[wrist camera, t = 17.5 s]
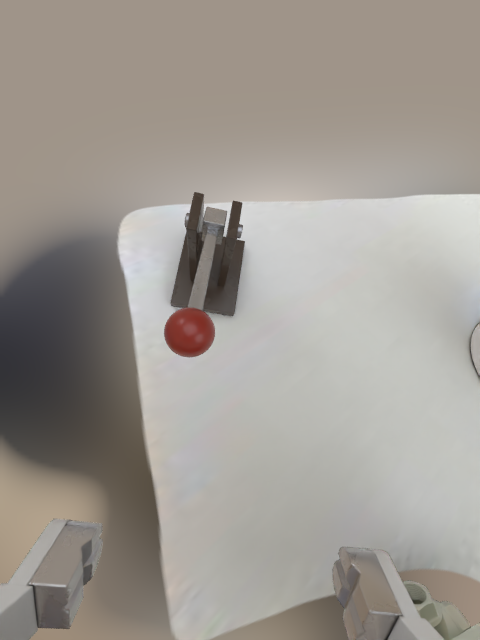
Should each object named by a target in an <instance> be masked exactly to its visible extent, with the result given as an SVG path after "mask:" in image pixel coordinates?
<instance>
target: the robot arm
mask: <svg viewBox="0 0 480 640" xmlns="http://www.w3.org/2000/svg"><path fill="white" fill-rule="evenodd" d="M471 354H472V359H473V362H474V365H475V368H476V370H477V372H478V374H479V376H480V323H479V324H478V325H477V327H476V328H475V330H474V332H473V334H472V338H471ZM101 533H102V523H92V522H82V521H81V522H80V521H72V520H65V519H53V520H52V521H51V522H50V523H49V524H48V525H47V526H46V528H45V529H44V531H43V532H42V533H41V535H40V536H39V538H38V539H37V541H36V542H35V544H34V545H33V547H32V548H31V550H30V551H29V553H28V554H27V555H26V557H25V558H24V560H23V561H22V563H21V564H20V566H19V567H18V568H17V570H16V572H15V573H14V574H13V576H12V577H11V579H10V580H9V582H8V583H2V584H0V640H29V639H30V638H31V637H32V636H33V635H34V634H35V633H36V632H37V630H38V628H56V629H70V627H71V624H72V622H73V620H74V617H75V615H76V613H77V611H78V609H79V606H80V604H81V602H82V599H83V586H84V585H85V584H86V583H87V582H88V581H89V580H90V579H91V578H92V577H93V574H94V572H95V570H96V567H97V565H98V562H99V558H100V555H101V551H102V542H103V541H102V539H101V538H100V535H101ZM338 554H339V557H340V559H339V560H337V561H336V562H335V563H334V567H333V584H334V589H335V593H336V596H337V599H338V601H339V602H340V603H341V605H342V606H343V608H344V615H343V621H344V624H345V628H346V632H347V635H348V639H349V640H445V639H444V638H443V637H442V636H441V635H440V634H439V633H438V632H437V631H436V630H435V629H434V627H433V626H432V625H431V624H430V623H429V622H428V621H427V620H426V619H425V618H421V617H420V615H419V614H418V612H417V610H416V608H415V606H414V604H413V602H412V600H411V598H410V596H409V594H408V592H407V590H406V588H405V586H404V584H403V582H402V580H401V578H400V576H399V574H398V572H397V570H396V568H395V566H394V564H393V562H392V560H391V558H390V556H389V554H388V553H387V552H386V551H383V550H375V549H367V548H354V547H342V548H340V550H339V553H338Z"/></svg>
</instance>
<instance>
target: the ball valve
mask: <svg viewBox="0 0 480 640" xmlns="http://www.w3.org/2000/svg"><path fill="white" fill-rule="evenodd" d="M403 584H404V586H405V588H406V590H407V592H408V594H409V596H410V598H411V600H412V602H413V604H414V606H415V608H416V610H417V612H418V614H419V615H420V617H421V618H425V619H426V620H427V621H428V622H429V623H430V624H431V625H432V626H433V627H434V629H435V630H436V631H437V632H438V633H439V634H440V635H441V636H442V637H443V638H444V639H445V640H480V623H478V624H476V625H475V626H473V627H471V625H470V624H469V623H468V621H467V619H466V618H465V616H464V615H463V614H462V613H461V612H460V610H459V609H458V608H457V607H456V606H455V605H454V604H453V603H451V602H448V601H442V602H438V601H437V600H434V599H433V598H432V597H431V596H430V593H429V591H428V588H427V587H425V586H423V585H422V584H420V583H418V582H414V581H409V580H408V581H404V582H403Z"/></svg>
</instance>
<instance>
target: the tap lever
mask: <svg viewBox="0 0 480 640" xmlns="http://www.w3.org/2000/svg"><path fill="white" fill-rule="evenodd" d="M226 215H227V211H224V210H219V209H215V208H210V207H207V208H206V212H205V215H204V219H203V225H202V236H201V241H204V245H203V249H202V253H201V257H200V261H199V265H198V269H197V273H196V276H195V280H194V284H193V288H192V292H191V296H190V300H189V304H188V308H183V309H180V310H178V311H176V312H175V313H173V314H172V315H171V316H170V317H169V319H168V321H167V322H166V325H165V329H164V336H165V340H166V343H167V345H168V346H169V348H170V349H171V350H172V351H173V352H174V353H176V354H178V355H180V356H183V357H195V356H199V355H201V354H203V353H204V352H206V351H207V350H208V349H209V348H210V346H211V345H212V343H213V340H214V337H215V327H214V324H213V322H212V320H211V318H210V317H209V316H208V315H207V314H206V313H205V312H204V311H203V306H204V301H205V296H206V291H207V286H208V281H209V276H210V271H211V266H212V261H213V256H214V251H215V246H216V244H219V245H221V244H222V239H223V233H224V227H225V221H226Z"/></svg>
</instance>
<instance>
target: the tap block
mask: <svg viewBox="0 0 480 640" xmlns="http://www.w3.org/2000/svg"><path fill="white" fill-rule="evenodd" d="M241 208H242V203H241V202H237V201H233V203H232V208H231V214H230V219H229V225H228V230H227V235H226V237H223V239H222V244H221V245H219V244H216V246H215V251H214V256H213V261H212V266H211V271H210V276H209V281H208V286H207V291H206V296H205V301H204V306H203V311H205V312H211V313H217V314H222V315H228V316H233V315H234V312H235V305H236V298H237V291H238V284H239V277H240V271H241V264H242V257H243V250H244V243H245V241H241V240H237V238H241V234H242V228H243V225H240V224H239V221H240V214H241ZM203 209H204V194H201V193H196V192H195V193H194V196H193V200H192V205H191V209H190V213H187V214H186V217H185V227H186V236H185V240H184V245H183V249H182V254H181V258H180V263H179V267H178V272H177V276H176V281H175V285H174V290H173V294H172V299H171V305H172V306H176V307H182V308H188V304H189V300H190V296H191V292H192V288H193V284H194V280H195V276H196V273H197V269H198V265H199V261H200V257H201V253H202V249H203V245H204V241H201V236H202V225H203Z"/></svg>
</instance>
